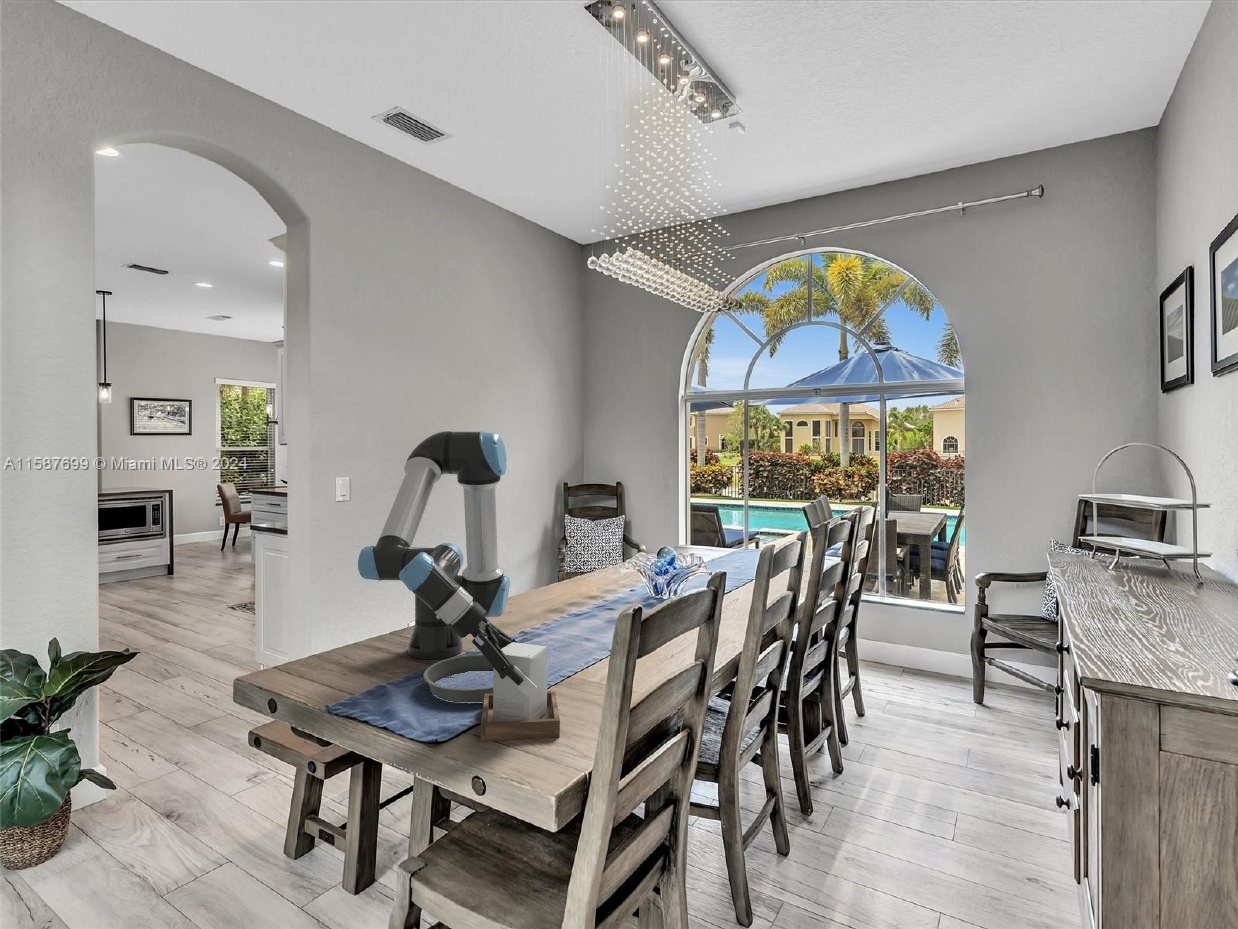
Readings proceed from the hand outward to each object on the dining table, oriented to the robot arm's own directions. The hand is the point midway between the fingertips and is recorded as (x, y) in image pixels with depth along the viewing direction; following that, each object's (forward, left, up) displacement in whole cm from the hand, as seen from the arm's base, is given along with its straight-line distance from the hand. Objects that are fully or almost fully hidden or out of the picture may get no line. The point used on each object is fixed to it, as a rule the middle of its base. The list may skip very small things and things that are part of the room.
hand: (531, 680), depth 138 cm
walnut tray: (0, -2, -9) cm, 9 cm away
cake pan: (-22, -13, -10) cm, 28 cm away
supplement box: (0, -2, -8) cm, 9 cm away
